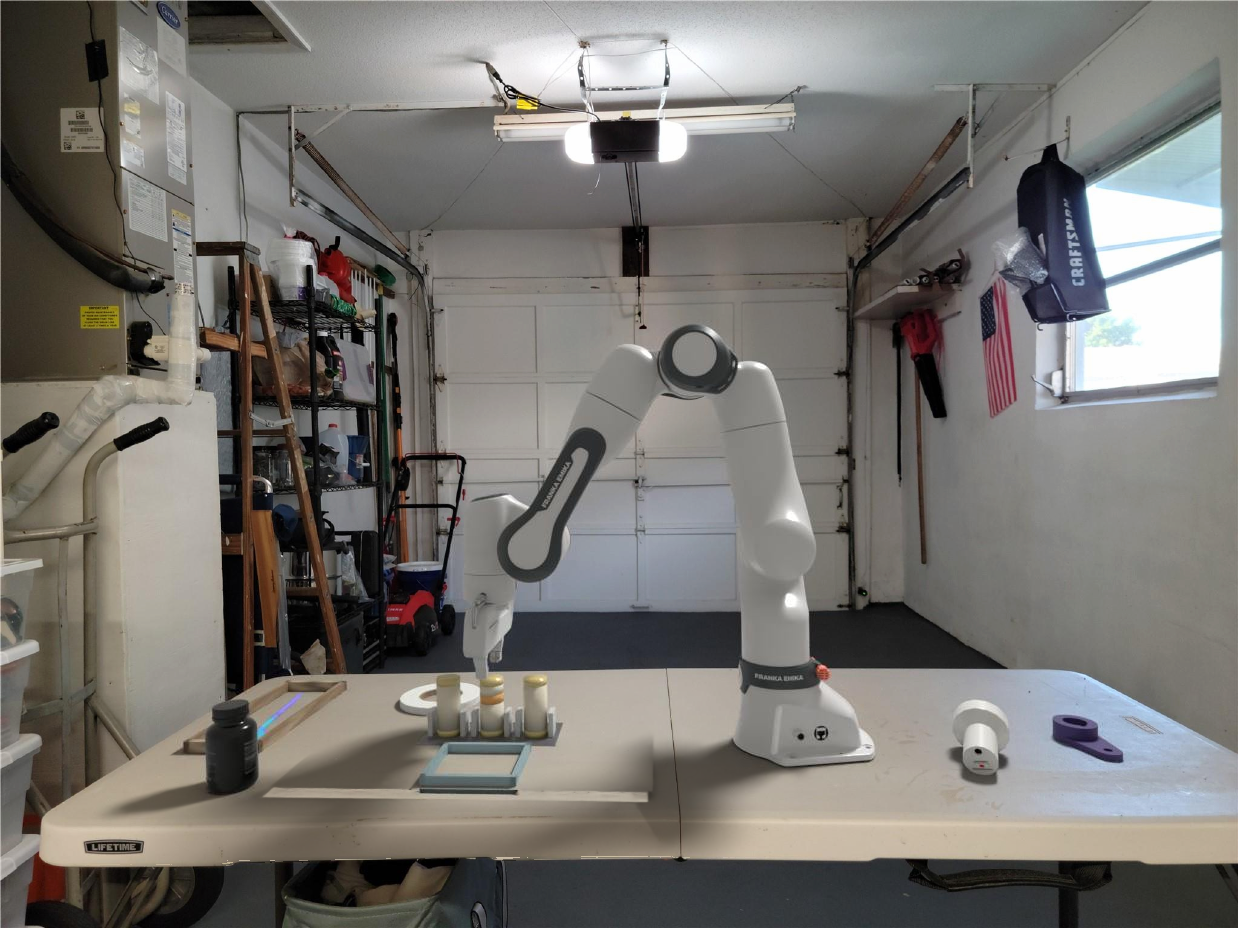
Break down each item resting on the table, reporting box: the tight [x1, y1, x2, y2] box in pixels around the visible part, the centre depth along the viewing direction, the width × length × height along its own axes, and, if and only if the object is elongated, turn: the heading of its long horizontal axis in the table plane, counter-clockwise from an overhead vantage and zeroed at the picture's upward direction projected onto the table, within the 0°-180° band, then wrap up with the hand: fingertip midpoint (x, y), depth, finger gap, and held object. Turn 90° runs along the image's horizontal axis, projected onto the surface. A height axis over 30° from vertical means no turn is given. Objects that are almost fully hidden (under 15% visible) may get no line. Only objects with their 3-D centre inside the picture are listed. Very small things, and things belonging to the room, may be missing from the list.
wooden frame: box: [182, 680, 348, 754], centre depth 130 cm, size 13×32×2 cm, turn 177°
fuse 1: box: [435, 673, 462, 738], centre depth 118 cm, size 4×4×10 cm
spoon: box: [257, 693, 303, 739], centre depth 129 cm, size 25×4×1 cm, turn 3°
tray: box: [418, 742, 532, 796], centre depth 104 cm, size 14×12×2 cm
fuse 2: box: [522, 673, 548, 738], centre depth 117 cm, size 4×4×10 cm
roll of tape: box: [399, 682, 480, 717], centre depth 134 cm, size 16×15×3 cm
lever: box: [1052, 714, 1124, 763], centre depth 112 cm, size 12×6×3 cm, turn 5°
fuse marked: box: [479, 673, 505, 738], centre depth 117 cm, size 4×4×10 cm
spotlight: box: [952, 699, 1010, 776], centre depth 106 cm, size 8×11×8 cm
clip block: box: [415, 706, 564, 747], centre depth 117 cm, size 23×10×5 cm, turn 87°
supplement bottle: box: [204, 698, 260, 795], centre depth 102 cm, size 7×7×12 cm
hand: (489, 669), depth 117 cm, fingers open, 8 cm apart
